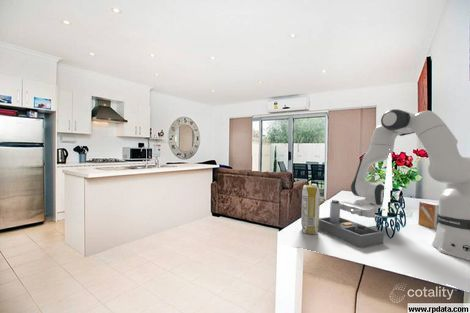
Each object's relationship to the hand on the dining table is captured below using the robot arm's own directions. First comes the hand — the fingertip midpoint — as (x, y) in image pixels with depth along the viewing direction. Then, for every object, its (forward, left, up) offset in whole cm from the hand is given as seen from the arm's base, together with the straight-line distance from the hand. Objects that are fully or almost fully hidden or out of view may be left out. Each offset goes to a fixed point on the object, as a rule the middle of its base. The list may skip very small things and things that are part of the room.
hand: (344, 209), depth 118 cm
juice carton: (+3, +20, -10) cm, 23 cm away
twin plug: (-15, +6, -8) cm, 18 cm away
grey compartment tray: (-7, +6, -10) cm, 14 cm away
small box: (-13, -51, -10) cm, 54 cm away
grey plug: (0, +6, -8) cm, 10 cm away
